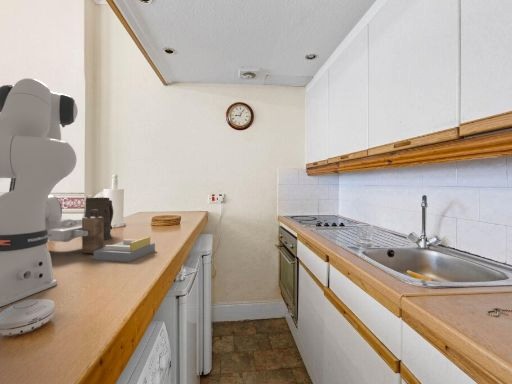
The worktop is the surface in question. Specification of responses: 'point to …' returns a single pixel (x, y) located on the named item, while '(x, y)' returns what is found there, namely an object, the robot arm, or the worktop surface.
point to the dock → (125, 250)
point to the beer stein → (101, 212)
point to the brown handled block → (92, 232)
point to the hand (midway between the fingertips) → (95, 231)
